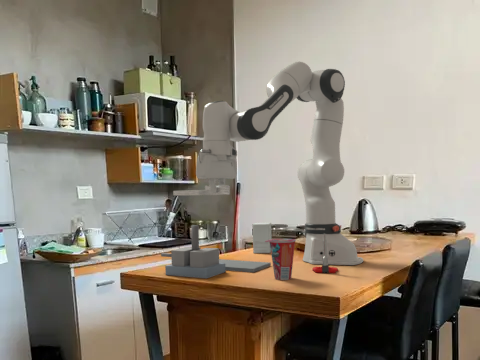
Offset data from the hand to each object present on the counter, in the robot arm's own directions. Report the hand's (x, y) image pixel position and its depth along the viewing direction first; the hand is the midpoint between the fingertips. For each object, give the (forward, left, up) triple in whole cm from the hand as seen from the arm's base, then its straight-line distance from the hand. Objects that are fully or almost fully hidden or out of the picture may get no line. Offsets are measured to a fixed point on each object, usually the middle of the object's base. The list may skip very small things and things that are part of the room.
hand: (217, 192), depth 155 cm
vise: (+12, 0, -27) cm, 29 cm away
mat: (+3, -16, -27) cm, 31 cm away
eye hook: (+5, 0, -1) cm, 5 cm away
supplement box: (+10, -54, -27) cm, 61 cm away
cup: (-21, -3, -27) cm, 34 cm away
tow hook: (-29, -21, -27) cm, 45 cm away
